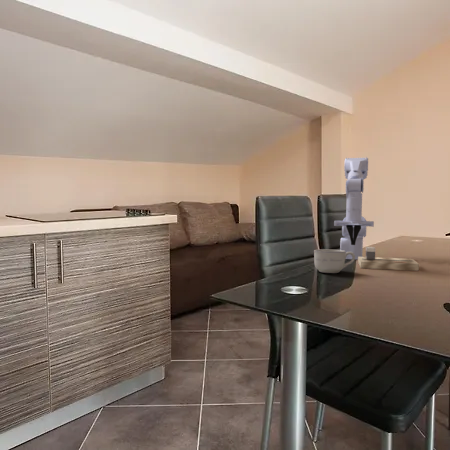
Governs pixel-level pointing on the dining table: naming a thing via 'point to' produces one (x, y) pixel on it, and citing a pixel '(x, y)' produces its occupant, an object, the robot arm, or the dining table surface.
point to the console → (388, 263)
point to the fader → (370, 253)
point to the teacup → (331, 260)
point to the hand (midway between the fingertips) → (353, 244)
